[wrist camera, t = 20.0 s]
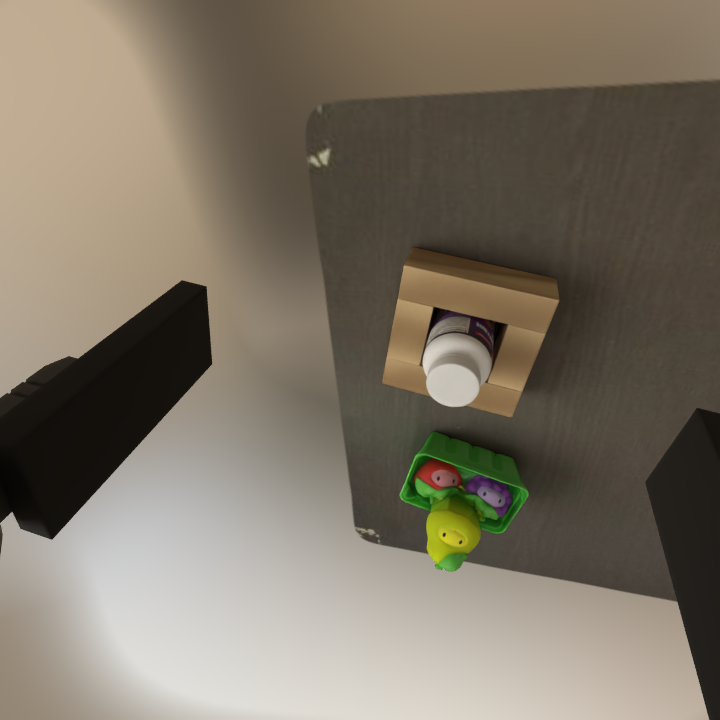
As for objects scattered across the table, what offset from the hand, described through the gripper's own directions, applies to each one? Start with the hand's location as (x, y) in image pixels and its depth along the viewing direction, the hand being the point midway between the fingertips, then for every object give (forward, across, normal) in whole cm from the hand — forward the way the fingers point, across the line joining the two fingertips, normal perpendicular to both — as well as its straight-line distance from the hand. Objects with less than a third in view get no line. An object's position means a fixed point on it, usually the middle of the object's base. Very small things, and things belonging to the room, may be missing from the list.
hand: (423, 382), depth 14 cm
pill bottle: (+29, +2, -14) cm, 32 cm away
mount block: (+29, +2, -14) cm, 32 cm away
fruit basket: (+29, +6, -31) cm, 43 cm away
